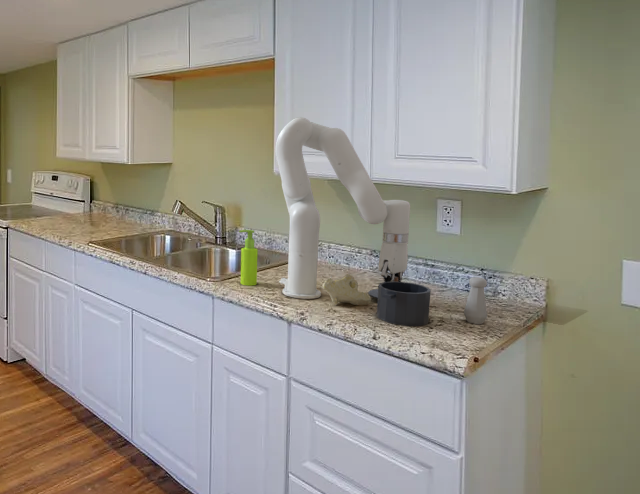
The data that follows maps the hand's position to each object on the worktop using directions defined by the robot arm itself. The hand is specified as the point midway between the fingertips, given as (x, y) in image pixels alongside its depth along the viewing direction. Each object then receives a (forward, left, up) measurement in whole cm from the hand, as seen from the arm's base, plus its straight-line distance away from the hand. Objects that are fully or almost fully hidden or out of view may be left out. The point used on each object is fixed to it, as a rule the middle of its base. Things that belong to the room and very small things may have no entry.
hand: (392, 292), depth 181 cm
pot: (+12, -16, -3) cm, 20 cm away
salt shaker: (+26, -2, -3) cm, 26 cm away
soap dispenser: (-43, -22, -3) cm, 49 cm away
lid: (0, 0, -1) cm, 1 cm away
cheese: (-6, -18, -3) cm, 19 cm away
